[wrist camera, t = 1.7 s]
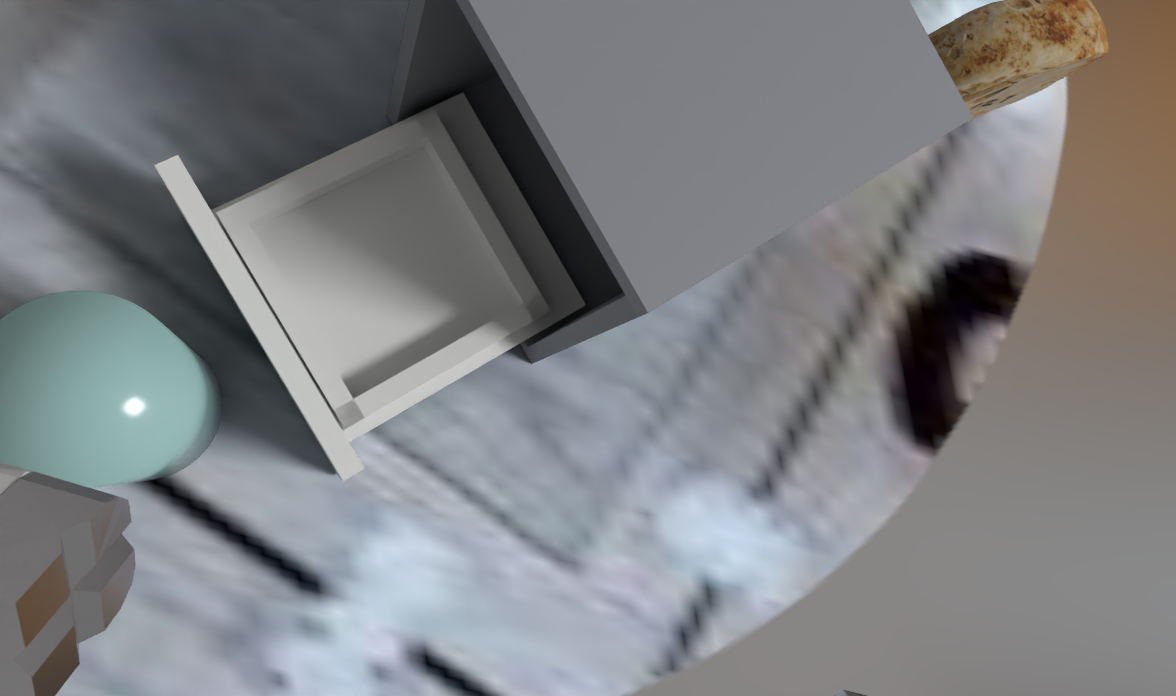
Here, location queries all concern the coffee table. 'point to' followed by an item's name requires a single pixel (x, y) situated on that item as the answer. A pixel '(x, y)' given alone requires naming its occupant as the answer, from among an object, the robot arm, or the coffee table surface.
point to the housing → (676, 124)
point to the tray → (383, 269)
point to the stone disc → (1018, 48)
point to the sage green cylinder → (101, 392)
